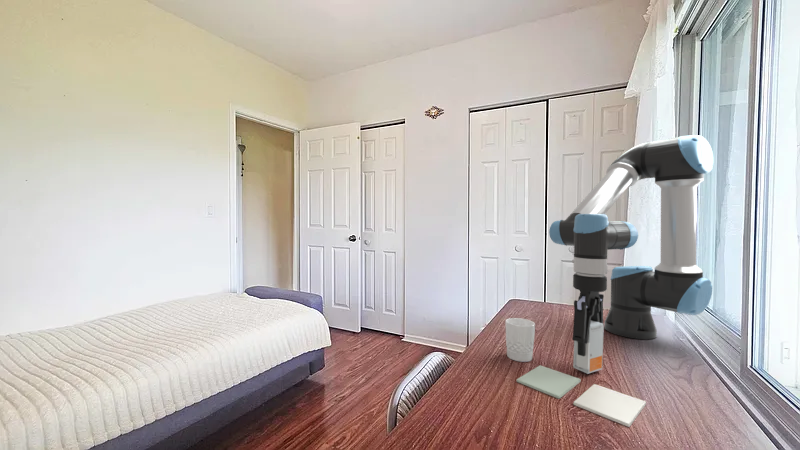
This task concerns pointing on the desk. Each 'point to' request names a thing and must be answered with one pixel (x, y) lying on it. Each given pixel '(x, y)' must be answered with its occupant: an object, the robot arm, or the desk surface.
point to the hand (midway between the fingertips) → (588, 363)
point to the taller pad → (610, 404)
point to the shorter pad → (549, 381)
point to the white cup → (520, 339)
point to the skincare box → (593, 348)
